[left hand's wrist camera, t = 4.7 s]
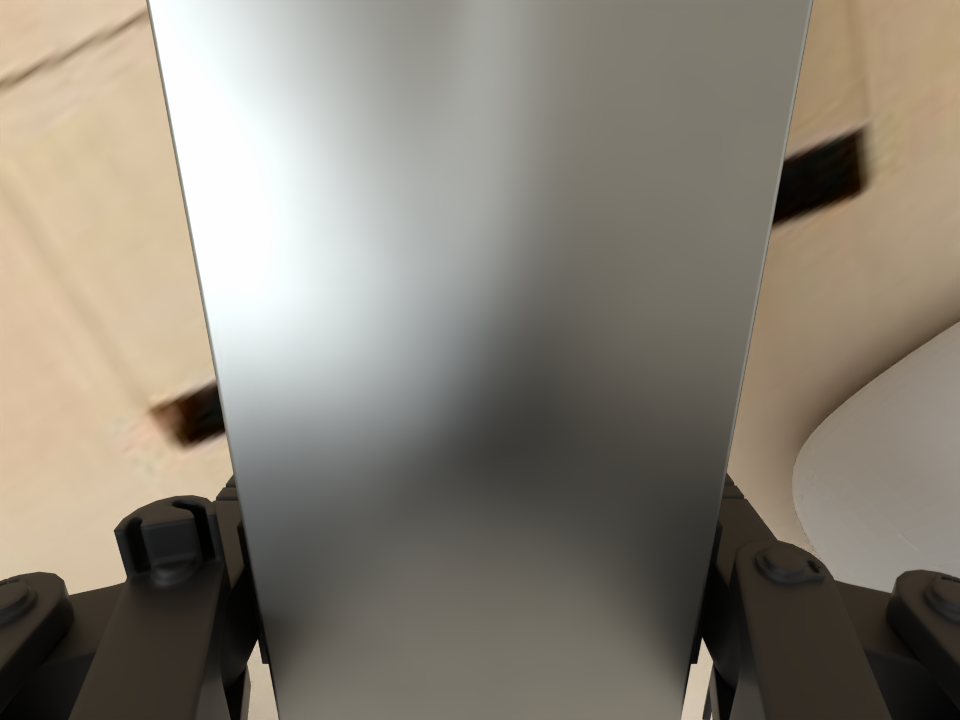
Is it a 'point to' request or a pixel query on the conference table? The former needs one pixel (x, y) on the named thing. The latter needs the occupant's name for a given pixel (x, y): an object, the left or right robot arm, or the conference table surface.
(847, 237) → the conference table surface
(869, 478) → the projector
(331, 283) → the bar
